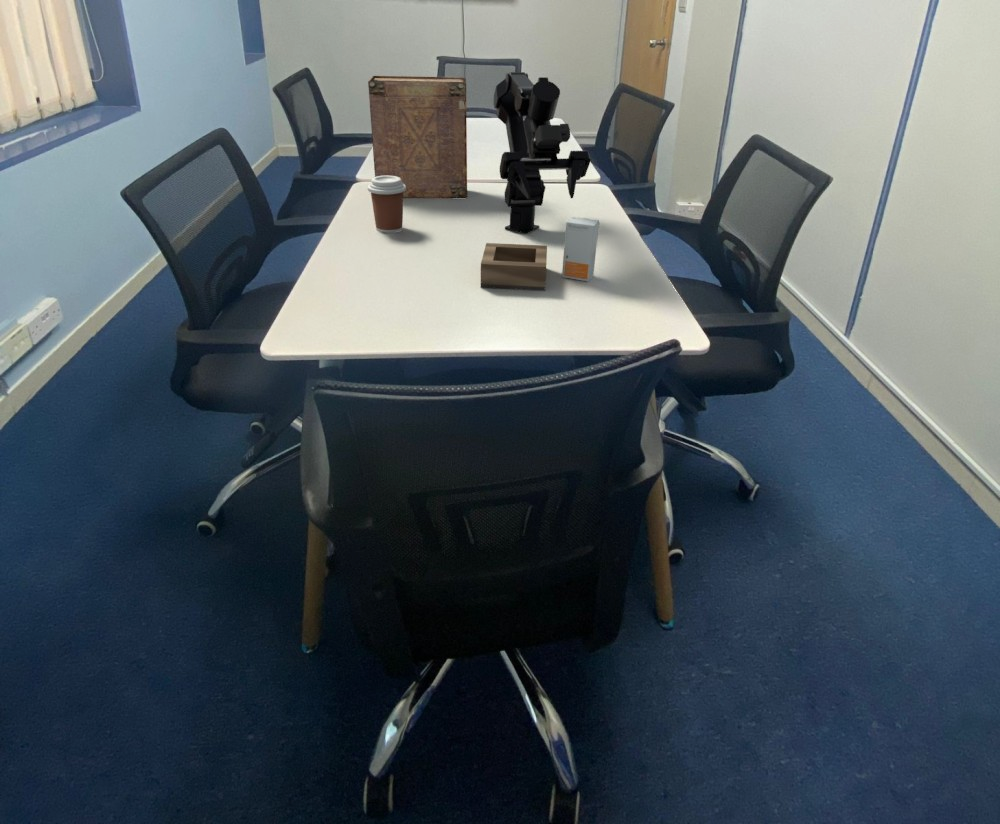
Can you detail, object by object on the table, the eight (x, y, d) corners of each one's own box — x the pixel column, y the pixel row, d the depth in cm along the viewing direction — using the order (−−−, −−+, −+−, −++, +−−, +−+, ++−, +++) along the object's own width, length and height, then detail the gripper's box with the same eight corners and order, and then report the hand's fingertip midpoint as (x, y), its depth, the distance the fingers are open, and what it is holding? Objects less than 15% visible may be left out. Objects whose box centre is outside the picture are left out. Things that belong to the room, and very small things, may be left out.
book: (466, 190, 209) (466, 77, 194) (467, 198, 202) (467, 81, 186) (378, 189, 208) (371, 75, 192) (375, 198, 200) (368, 80, 184)
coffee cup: (365, 225, 178) (361, 176, 172) (400, 221, 182) (397, 172, 176) (377, 236, 172) (374, 185, 165) (413, 231, 175) (411, 181, 169)
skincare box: (561, 278, 151) (565, 221, 145) (566, 271, 154) (570, 216, 148) (589, 282, 149) (594, 225, 143) (594, 275, 153) (599, 219, 146)
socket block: (486, 265, 156) (486, 242, 154) (545, 268, 156) (547, 245, 153) (480, 287, 145) (480, 263, 143) (544, 290, 145) (546, 266, 142)
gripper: (502, 109, 146) (512, 172, 140) (590, 109, 149) (604, 170, 143) (495, 148, 156) (504, 208, 151) (578, 146, 159) (590, 205, 154)
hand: (551, 197), depth 149 cm, fingers open, 9 cm apart
